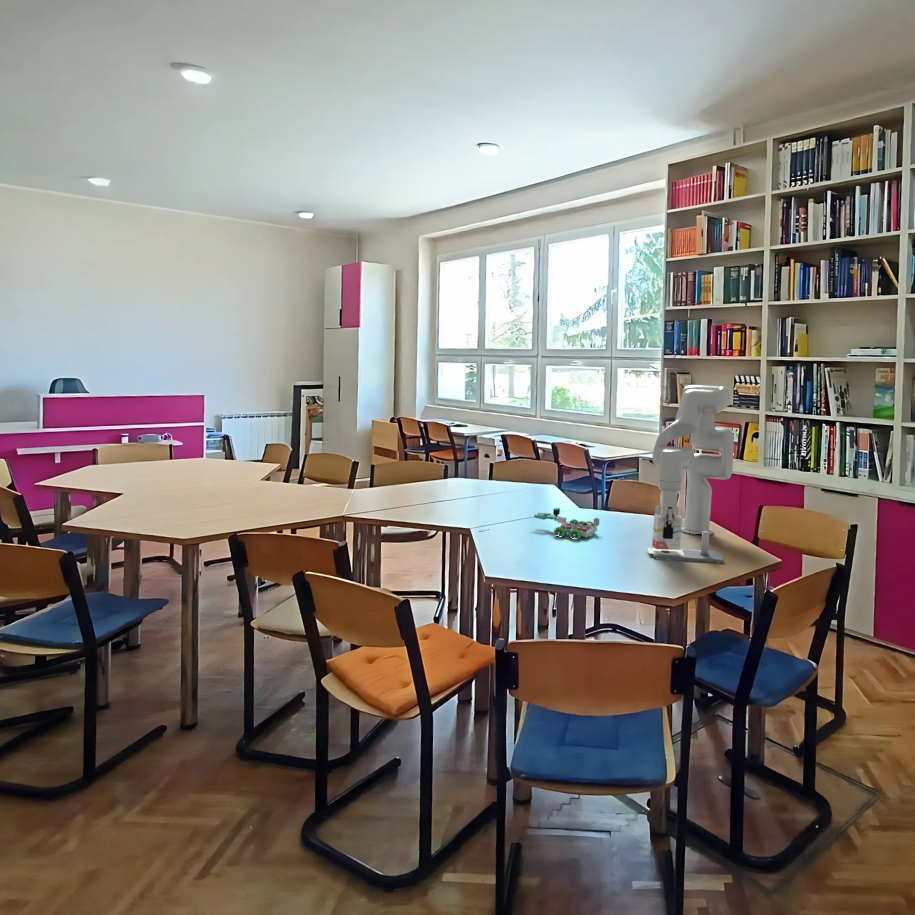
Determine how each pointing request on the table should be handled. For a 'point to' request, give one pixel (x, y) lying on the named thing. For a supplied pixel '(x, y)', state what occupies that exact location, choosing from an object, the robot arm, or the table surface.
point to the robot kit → (570, 525)
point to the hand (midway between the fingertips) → (666, 535)
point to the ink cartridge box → (658, 532)
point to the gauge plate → (689, 552)
